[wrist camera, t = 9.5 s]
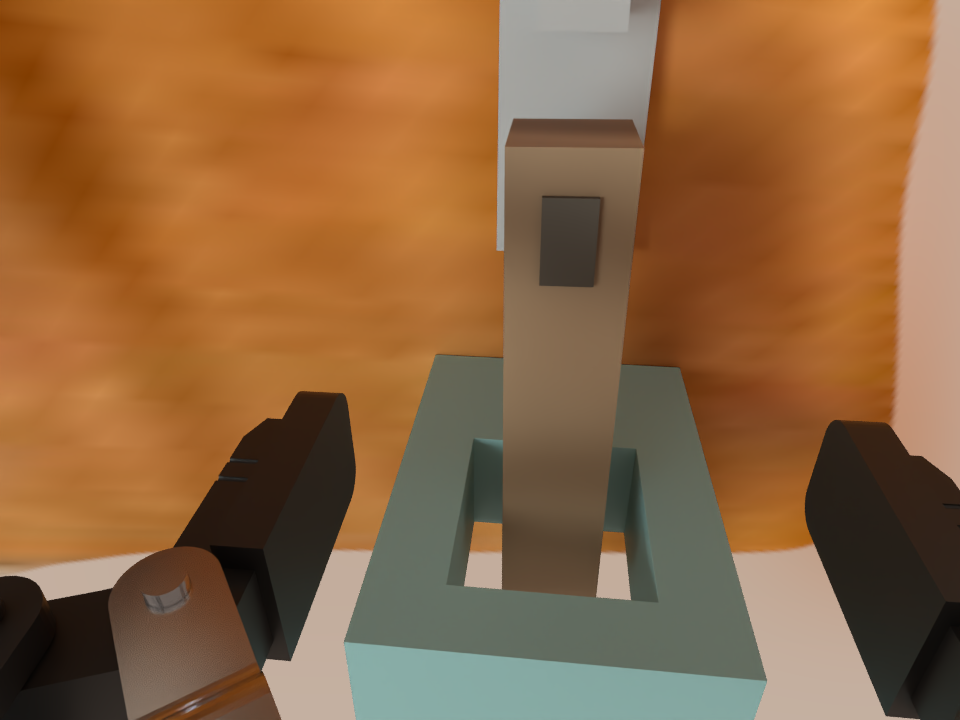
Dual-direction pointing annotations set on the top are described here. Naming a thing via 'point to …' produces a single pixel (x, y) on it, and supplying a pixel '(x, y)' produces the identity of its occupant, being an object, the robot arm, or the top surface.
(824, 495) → the robot arm
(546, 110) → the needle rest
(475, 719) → the teal rectangular frame
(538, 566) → the needle
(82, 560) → the top surface
